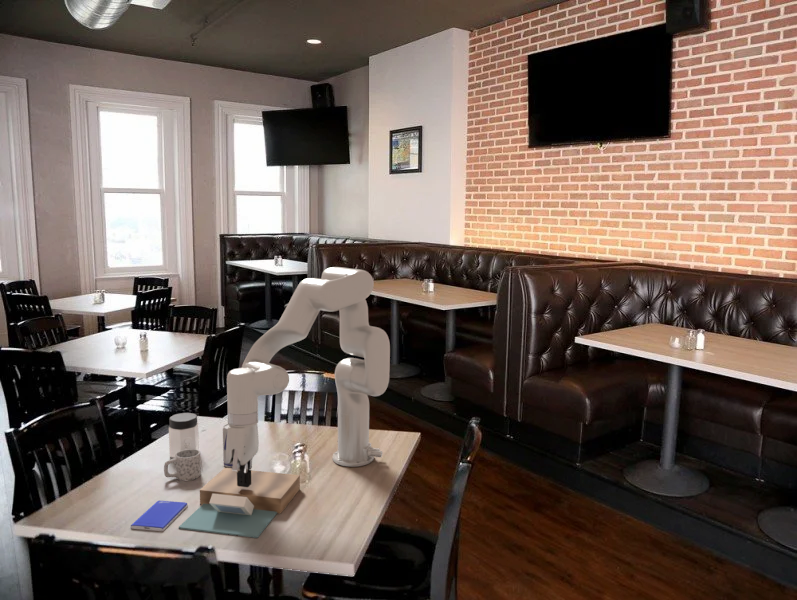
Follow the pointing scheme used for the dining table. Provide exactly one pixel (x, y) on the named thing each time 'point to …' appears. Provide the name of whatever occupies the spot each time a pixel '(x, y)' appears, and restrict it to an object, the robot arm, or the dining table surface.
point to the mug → (185, 465)
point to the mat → (228, 521)
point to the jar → (183, 433)
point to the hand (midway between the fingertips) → (244, 485)
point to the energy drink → (225, 429)
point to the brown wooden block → (255, 489)
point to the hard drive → (159, 515)
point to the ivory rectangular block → (231, 504)
